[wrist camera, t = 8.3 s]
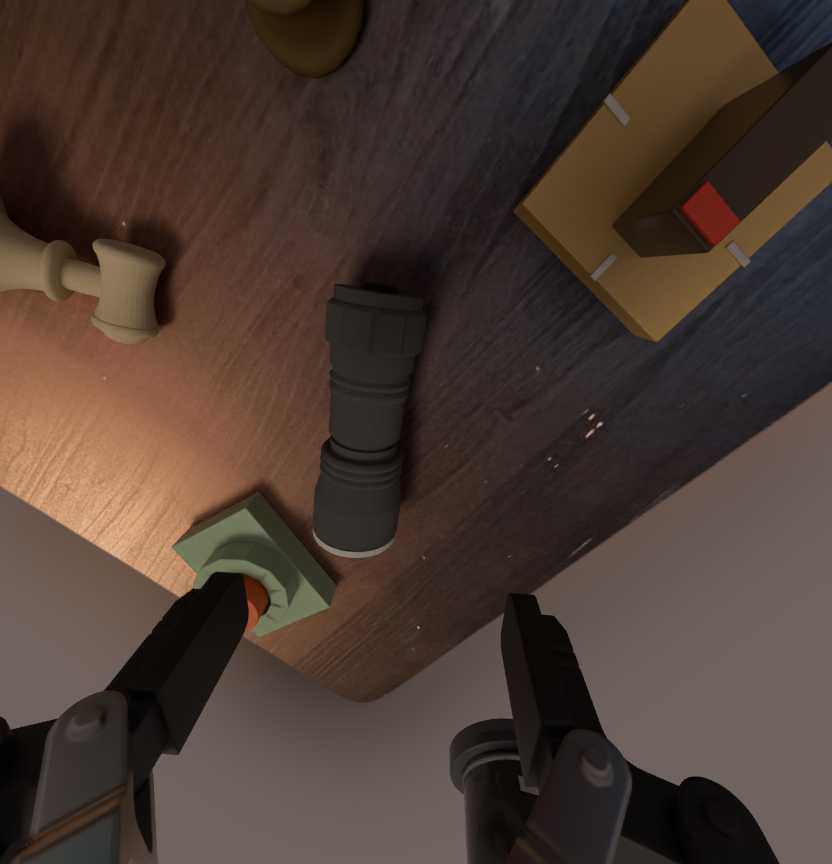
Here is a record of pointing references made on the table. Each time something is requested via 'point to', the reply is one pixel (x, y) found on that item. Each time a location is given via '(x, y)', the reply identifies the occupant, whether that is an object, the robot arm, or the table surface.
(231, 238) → the table surface
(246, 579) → the button
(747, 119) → the thumb turn
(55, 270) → the door knob
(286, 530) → the green button base
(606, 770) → the robot arm
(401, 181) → the table surface
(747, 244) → the plate
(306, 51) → the kendama
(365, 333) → the flashlight
